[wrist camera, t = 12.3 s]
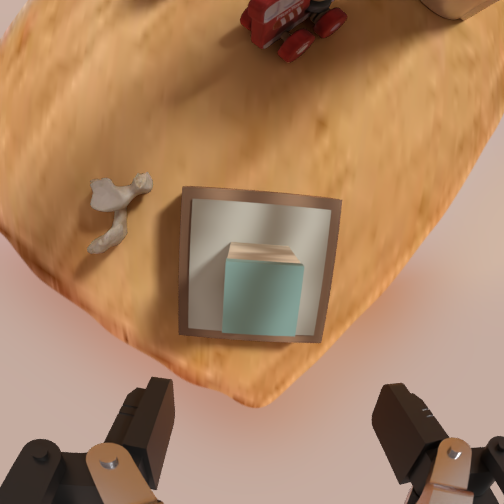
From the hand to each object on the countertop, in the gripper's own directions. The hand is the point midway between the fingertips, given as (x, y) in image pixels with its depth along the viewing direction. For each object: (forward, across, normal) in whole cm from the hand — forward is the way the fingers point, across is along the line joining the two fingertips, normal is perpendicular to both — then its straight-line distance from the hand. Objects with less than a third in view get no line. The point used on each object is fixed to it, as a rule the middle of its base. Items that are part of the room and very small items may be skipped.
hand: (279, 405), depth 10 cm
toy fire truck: (+22, -2, -26) cm, 34 cm away
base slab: (+22, 0, 0) cm, 22 cm away
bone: (+22, +14, -5) cm, 27 cm away
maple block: (+18, 0, 0) cm, 18 cm away
